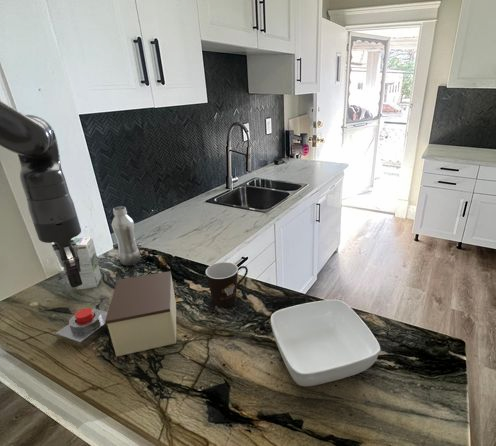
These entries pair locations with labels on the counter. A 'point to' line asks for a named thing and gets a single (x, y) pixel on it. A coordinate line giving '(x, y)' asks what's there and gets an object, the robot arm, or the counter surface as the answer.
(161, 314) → the cream hinged box
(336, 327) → the bowl
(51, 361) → the counter surface
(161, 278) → the lid
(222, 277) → the coffee mug
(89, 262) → the syrup box
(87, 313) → the button
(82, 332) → the control block
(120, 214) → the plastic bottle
